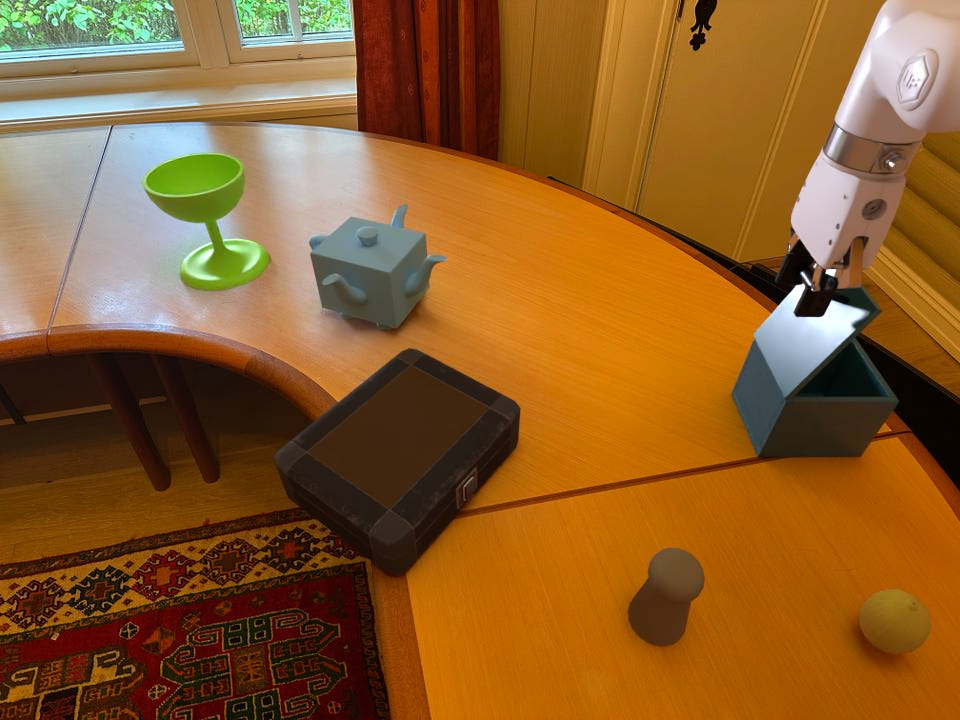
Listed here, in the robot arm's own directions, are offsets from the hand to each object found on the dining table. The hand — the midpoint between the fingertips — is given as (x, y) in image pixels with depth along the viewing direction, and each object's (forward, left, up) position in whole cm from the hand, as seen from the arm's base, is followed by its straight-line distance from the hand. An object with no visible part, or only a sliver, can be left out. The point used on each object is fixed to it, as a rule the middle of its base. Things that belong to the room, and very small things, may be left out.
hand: (798, 297), depth 69 cm
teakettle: (+57, -13, -22) cm, 63 cm away
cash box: (+42, +18, -22) cm, 51 cm away
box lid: (-3, -1, -4) cm, 5 cm away
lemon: (-12, +27, -22) cm, 37 cm away
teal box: (-7, -2, -22) cm, 23 cm away
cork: (+11, +30, -22) cm, 39 cm away
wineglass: (+90, -18, -22) cm, 95 cm away
